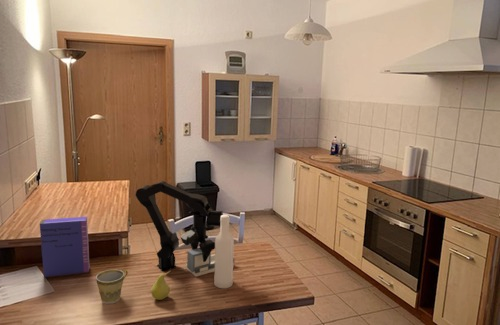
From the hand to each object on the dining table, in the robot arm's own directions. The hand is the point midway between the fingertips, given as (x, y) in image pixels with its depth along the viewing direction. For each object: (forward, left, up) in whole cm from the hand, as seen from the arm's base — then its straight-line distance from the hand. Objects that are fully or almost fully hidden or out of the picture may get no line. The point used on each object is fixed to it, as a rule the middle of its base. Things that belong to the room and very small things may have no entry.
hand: (199, 257), depth 167 cm
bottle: (+3, -16, -6) cm, 17 cm away
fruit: (-23, -12, -6) cm, 27 cm away
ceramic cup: (-38, -2, -6) cm, 39 cm away
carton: (0, 0, -5) cm, 5 cm away
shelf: (+6, +1, -6) cm, 9 cm away
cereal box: (-49, +29, -6) cm, 57 cm away
